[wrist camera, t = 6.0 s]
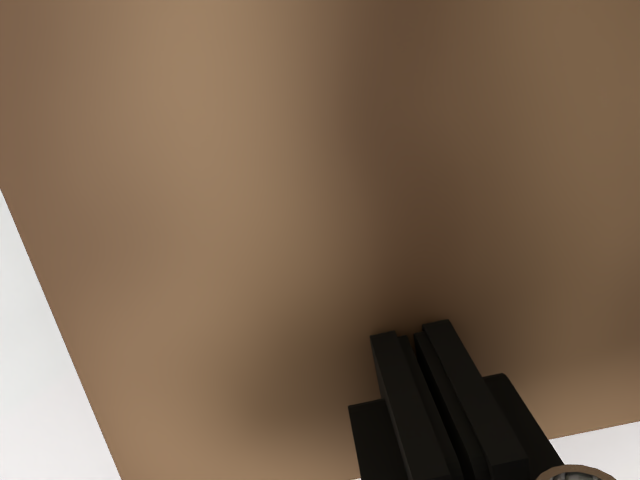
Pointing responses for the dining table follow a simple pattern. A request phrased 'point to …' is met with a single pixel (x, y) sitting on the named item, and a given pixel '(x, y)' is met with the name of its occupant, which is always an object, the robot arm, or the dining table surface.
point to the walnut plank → (323, 211)
